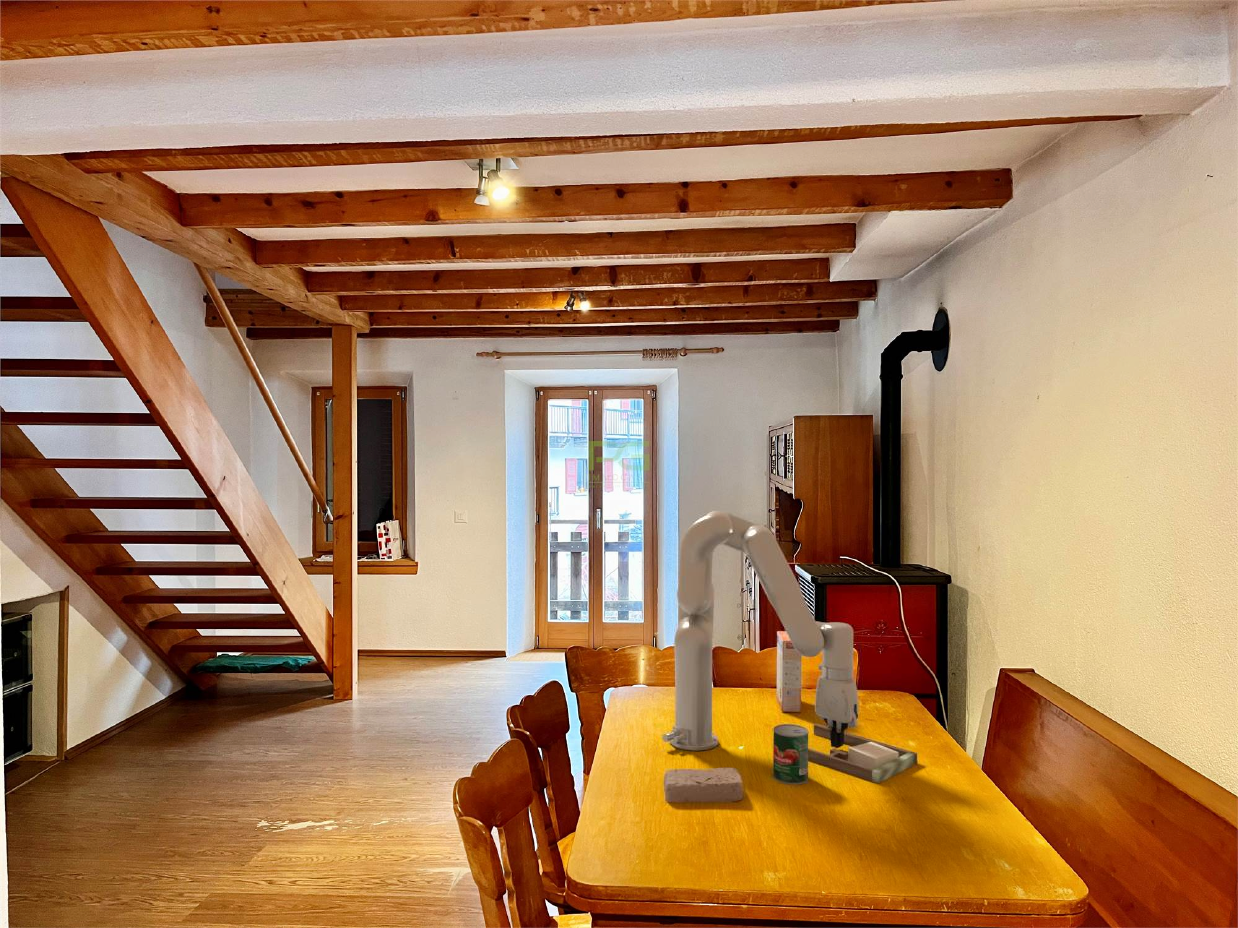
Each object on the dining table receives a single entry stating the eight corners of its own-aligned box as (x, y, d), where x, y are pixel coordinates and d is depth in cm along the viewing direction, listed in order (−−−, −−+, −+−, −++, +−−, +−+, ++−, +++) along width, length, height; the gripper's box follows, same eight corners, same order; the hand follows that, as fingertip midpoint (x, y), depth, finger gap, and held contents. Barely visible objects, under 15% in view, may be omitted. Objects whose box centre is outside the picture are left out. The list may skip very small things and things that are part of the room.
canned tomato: (770, 781, 172) (770, 733, 172) (775, 768, 179) (775, 722, 179) (806, 787, 169) (806, 737, 169) (810, 773, 176) (810, 726, 176)
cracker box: (802, 713, 220) (802, 640, 220) (781, 712, 220) (781, 640, 221) (796, 698, 234) (796, 630, 234) (776, 698, 234) (776, 630, 235)
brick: (666, 804, 161) (666, 781, 161) (663, 787, 169) (663, 766, 169) (744, 804, 161) (744, 781, 161) (737, 787, 170) (737, 766, 170)
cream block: (875, 775, 176) (875, 758, 176) (848, 764, 183) (848, 747, 183) (898, 768, 180) (898, 751, 180) (871, 757, 187) (871, 741, 187)
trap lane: (878, 783, 171) (878, 772, 171) (776, 749, 192) (775, 739, 192) (917, 762, 183) (917, 752, 183) (816, 732, 204) (816, 723, 204)
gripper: (803, 669, 194) (803, 741, 194) (855, 682, 183) (855, 758, 183) (820, 664, 199) (820, 734, 199) (872, 676, 188) (872, 750, 188)
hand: (837, 745), depth 191 cm, fingers closed
